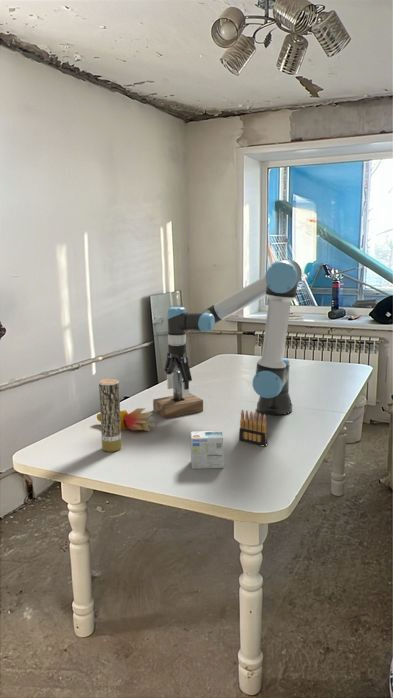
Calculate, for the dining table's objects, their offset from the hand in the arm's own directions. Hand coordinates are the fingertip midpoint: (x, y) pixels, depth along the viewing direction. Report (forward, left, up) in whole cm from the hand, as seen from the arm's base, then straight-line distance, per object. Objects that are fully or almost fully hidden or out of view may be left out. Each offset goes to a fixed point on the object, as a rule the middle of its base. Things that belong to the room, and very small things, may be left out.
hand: (177, 392), depth 226 cm
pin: (0, 0, -7) cm, 7 cm away
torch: (-7, +27, -9) cm, 30 cm away
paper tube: (-24, +40, -8) cm, 47 cm away
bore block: (0, 0, -8) cm, 8 cm away
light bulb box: (-53, +18, -8) cm, 57 cm away
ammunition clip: (-46, -6, -8) cm, 47 cm away
